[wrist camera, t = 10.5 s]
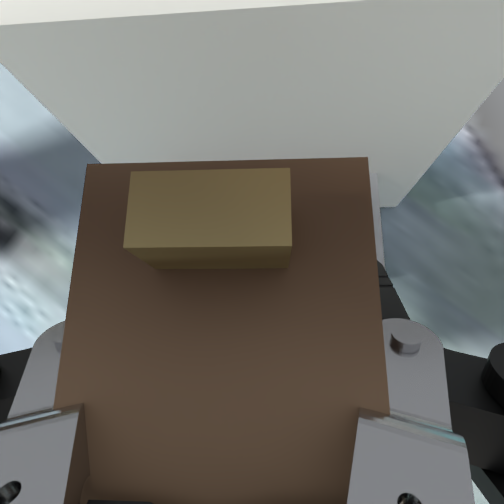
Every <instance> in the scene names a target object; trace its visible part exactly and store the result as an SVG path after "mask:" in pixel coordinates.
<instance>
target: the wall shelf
mask: <svg viewBox="0 0 504 504" xmlns="http://www.w3.org/2000/svg"><path fill="white" fill-rule="evenodd" d="M0 63H1V64H2V65H3V66H4V67H5V68H6V69H7V70H8V71H9V72H10V73H11V74H12V75H13V76H14V77H15V78H16V79H17V80H18V81H19V82H20V83H21V84H22V85H23V86H24V87H25V88H26V89H27V90H28V91H29V92H30V93H31V94H32V95H33V96H34V97H35V98H36V99H37V100H38V101H39V102H40V103H41V104H42V105H43V106H44V107H45V108H46V109H47V110H48V111H49V112H50V113H51V114H52V115H53V116H54V117H55V118H56V119H57V120H58V121H59V122H60V123H61V124H62V125H63V126H64V127H65V128H66V129H67V130H68V131H69V132H70V133H71V134H72V135H73V136H74V137H75V138H76V139H77V140H78V141H79V142H80V143H81V144H82V145H83V146H84V147H85V148H86V149H87V150H88V151H89V152H90V153H91V154H92V155H93V156H94V157H95V158H96V159H97V160H98V161H99V162H100V163H101V164H110V163H149V162H189V161H229V160H268V159H308V158H347V157H368V163H369V175H370V186H371V198H372V209H373V221H374V232H375V244H376V255H377V260H378V261H379V262H380V263H381V264H382V265H383V267H384V269H385V261H384V249H383V238H382V226H381V215H380V207H397V206H398V205H399V203H400V202H401V201H402V200H403V199H404V197H405V196H406V195H407V194H408V192H409V191H410V190H411V189H412V188H413V186H414V185H415V184H416V183H417V182H418V180H419V179H420V178H421V177H422V176H423V174H424V173H425V172H426V171H427V170H428V168H429V167H430V166H431V165H432V164H433V162H434V161H435V160H436V159H437V158H438V156H439V155H440V154H441V153H442V152H443V150H444V149H445V148H446V147H447V146H448V144H449V143H450V142H451V141H452V140H453V138H454V137H455V136H456V135H457V133H458V132H459V131H460V130H461V129H462V127H463V126H464V125H465V124H466V123H467V121H468V120H469V119H470V118H471V117H472V115H473V114H474V113H475V112H476V111H477V109H478V108H479V107H480V106H481V105H482V103H483V102H484V101H485V100H486V99H487V97H488V96H489V95H490V94H491V93H492V91H493V90H494V89H495V88H496V86H497V85H498V84H499V83H500V81H502V79H503V78H504V0H0Z"/></svg>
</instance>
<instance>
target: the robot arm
mask: <svg viewBox="0 0 504 504" xmlns="http://www.w3.org/2000/svg"><path fill="white" fill-rule="evenodd" d="M377 267H378V278H379V290H380V301H381V313H382V324H383V336H384V347H385V359H386V370H387V381H388V393H389V404H390V415H389V414H386V413H382V412H378V411H375V410H370V409H366V408H362V407H360V410H359V417H358V423H357V430H356V436H355V443H354V449H353V456H352V462H351V469H350V475H349V482H348V491H347V499H346V504H475V501H474V494H473V487H472V480H473V482H474V483H475V484H476V486H477V487H478V488H479V490H480V491H481V492H482V494H483V495H484V497H485V498H486V499H487V501H488V502H489V503H490V504H504V343H501V344H498V345H496V346H495V347H493V349H492V350H491V352H490V354H489V357H488V359H485V358H481V357H477V356H473V355H468V354H464V353H460V352H455V351H452V350H448V349H445V348H443V345H442V343H441V341H440V339H439V338H438V337H437V335H436V334H435V333H434V332H432V331H431V330H430V329H429V328H427V327H425V326H424V325H421V324H419V323H417V322H414V321H411V320H410V318H409V316H408V314H407V312H406V310H405V308H404V306H403V304H402V302H401V300H400V298H399V296H398V294H397V292H396V290H395V288H394V287H393V284H392V283H391V281H390V279H389V278H388V275H387V273H386V271H385V269H384V267H383V265H382V264H381V263H380V262H379V261H378V260H377ZM64 327H65V321H63V322H61V323H58V324H56V325H54V326H52V327H51V328H49V329H48V330H46V331H45V332H44V333H43V334H41V335H40V337H39V338H38V339H37V340H36V342H35V343H34V346H33V348H29V349H25V350H21V351H16V352H12V353H7V354H3V355H0V504H80V500H81V494H82V489H83V486H84V483H85V481H86V479H87V477H88V476H91V475H90V464H89V453H88V442H87V431H86V420H85V409H84V402H83V403H79V404H74V405H70V406H65V407H61V408H57V409H53V406H54V399H55V391H56V384H57V377H58V370H59V363H60V355H61V348H62V341H63V334H64ZM471 479H472V480H471ZM87 504H154V503H151V502H144V501H114V500H88V502H87Z"/></svg>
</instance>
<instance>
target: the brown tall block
mask: <svg viewBox="0 0 504 504" xmlns="http://www.w3.org/2000/svg"><path fill="white" fill-rule="evenodd" d="M83 402H84V409H85V420H86V431H87V442H88V453H89V464H90V475H91V476H88V477H87V479H86V481H85V483H84V486H83V489H82V494H81V500H80V504H87V502H88V500H114V501H144V502H151V503H154V504H346V499H347V491H348V482H349V475H350V469H351V462H352V456H353V449H354V443H355V436H356V430H357V423H358V417H359V410H360V407H362V408H366V409H370V410H375V411H378V412H382V413H386V414H389V415H390V404H389V393H388V381H387V370H386V359H385V347H384V336H383V324H382V313H381V301H380V290H379V278H378V267H377V255H376V244H375V232H374V221H373V209H372V198H371V186H370V175H369V163H368V157H347V158H308V159H268V160H229V161H189V162H149V163H110V164H87V169H86V176H85V183H84V190H83V197H82V205H81V212H80V219H79V226H78V233H77V241H76V248H75V255H74V262H73V269H72V276H71V284H70V291H69V298H68V305H67V312H66V320H65V327H64V334H63V341H62V348H61V355H60V363H59V370H58V377H57V384H56V391H55V399H54V406H53V409H57V408H61V407H65V406H70V405H74V404H79V403H83Z"/></svg>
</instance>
